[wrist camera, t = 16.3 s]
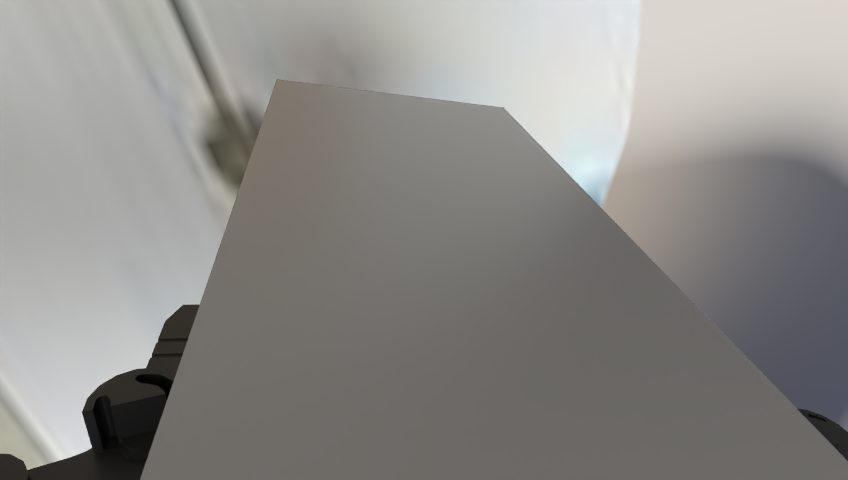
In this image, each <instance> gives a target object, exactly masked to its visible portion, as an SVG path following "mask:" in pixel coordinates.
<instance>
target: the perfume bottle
mask: <svg viewBox="0 0 848 480" xmlns="http://www.w3.org/2000/svg"><path fill="white" fill-rule="evenodd" d="M140 480H848V461H847V460H846V459H845V458H844V457H843V456H842V455H841V454H840V453H839V452H838V451H837V450H836V448H835V447H834V446H833V445H832V444H831V443H830V442H829V441H828V440H827V439H826V438H825V437H824V436H823V435H822V434H821V433H820V432H819V431H818V430H817V429H816V428H815V427H814V426H813V425H812V424H811V423H810V422H809V421H808V420H807V419H806V418H805V417H804V416H803V415H802V414H801V413H800V412H799V411H798V409H797V408H796V407H795V406H793V405H792V403H791V402H790V401H789V400H788V399H787V398H786V397H785V396H784V395H783V394H782V393H781V392H780V391H779V390H778V389H777V388H776V387H775V386H774V385H773V384H772V383H771V382H770V381H769V380H768V379H767V378H766V377H765V376H764V375H763V374H762V373H761V372H760V370H759V369H758V368H756V367H755V365H754V364H753V363H752V362H751V361H750V360H749V359H748V358H747V357H746V356H745V355H744V354H743V353H742V352H741V351H740V350H739V349H738V348H737V347H736V346H735V345H734V344H733V343H732V342H731V341H730V340H729V339H728V338H727V337H726V336H725V335H724V334H723V333H722V332H721V330H720V329H718V328H717V326H716V325H715V324H714V323H713V322H712V321H711V320H710V319H709V318H708V317H707V316H706V315H705V314H704V313H703V312H702V311H701V310H700V309H699V308H698V307H697V306H696V305H695V304H694V303H693V302H692V301H691V300H690V299H689V298H688V297H687V296H686V295H685V294H684V293H683V292H682V290H681V289H680V288H679V287H678V286H677V285H676V284H675V283H674V282H673V281H672V280H671V279H670V278H669V277H668V276H667V275H666V274H665V273H664V272H663V271H662V270H661V269H660V268H659V267H658V266H657V265H656V264H655V263H654V262H653V261H652V260H651V259H650V258H649V257H648V256H647V255H646V254H645V253H644V251H643V250H642V249H640V247H638V245H637V244H636V243H635V242H634V241H633V240H632V239H631V238H630V237H629V236H628V235H627V234H626V233H625V232H624V231H623V230H622V229H621V228H620V227H619V226H618V225H617V224H616V223H615V222H614V221H613V220H612V219H611V218H610V217H609V216H608V214H607V213H606V212H604V210H603V209H602V208H601V207H600V206H599V205H598V204H597V203H596V202H595V201H594V200H593V199H592V198H591V197H590V196H589V195H588V194H587V193H586V192H585V191H584V190H583V189H582V188H581V187H580V186H579V185H578V184H577V183H576V182H575V181H574V180H573V179H572V178H571V177H570V175H569V174H568V173H567V172H566V171H565V170H564V169H563V168H562V167H561V166H560V165H559V164H558V163H557V162H556V161H555V160H554V159H553V158H552V157H551V156H550V155H549V154H548V153H547V152H546V151H545V150H544V149H543V148H542V147H541V146H540V145H539V144H538V143H537V142H536V141H535V140H534V139H533V138H532V136H531V135H530V134H529V133H528V132H527V131H526V130H525V129H524V128H523V127H522V126H521V125H520V124H519V123H518V122H517V121H516V120H515V119H514V118H513V117H512V116H511V115H510V114H509V113H508V112H507V111H506V110H505V109H504V108H502V107H494V106H486V105H478V104H470V103H462V102H454V101H446V100H438V99H430V98H422V97H414V96H406V95H398V94H390V93H382V92H374V91H366V90H358V89H350V88H342V87H334V86H326V85H318V84H310V83H301V82H293V81H285V80H277V81H276V84H275V87H274V89H273V92H272V95H271V98H270V101H269V104H268V107H267V110H266V113H265V116H264V119H263V122H262V125H261V127H260V130H259V133H258V136H257V139H256V142H255V145H254V148H253V151H252V154H251V157H250V160H249V163H248V165H247V168H246V171H245V174H244V177H243V180H242V183H241V186H240V189H239V192H238V195H237V198H236V200H235V203H234V206H233V209H232V212H231V215H230V218H229V221H228V224H227V227H226V230H225V233H224V236H223V238H222V241H221V244H220V247H219V250H218V253H217V256H216V259H215V262H214V265H213V268H212V271H211V274H210V276H209V279H208V282H207V285H206V288H205V291H204V294H203V297H202V300H201V303H200V306H199V309H198V312H197V314H196V317H195V320H194V323H193V326H192V329H191V332H190V335H189V338H188V341H187V344H186V347H185V350H184V352H183V355H182V358H181V361H180V364H179V367H178V370H177V373H176V376H175V379H174V382H173V385H172V388H171V390H170V393H169V396H168V399H167V402H166V405H165V408H164V411H163V414H162V417H161V420H160V423H159V425H158V428H157V431H156V434H155V437H154V440H153V443H152V446H151V449H150V452H149V455H148V458H147V461H146V463H145V466H144V469H143V472H142V475H141V478H140Z"/></svg>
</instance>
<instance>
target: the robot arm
mask: <svg viewBox="0 0 848 480" xmlns="http://www.w3.org/2000/svg"><path fill="white" fill-rule="evenodd" d="M199 306H200V305H182V306H181V307H180V308H179V309H178V310H177V311H176V312H175V313H174V314H173V315H172V316H170V317H169V318H168V319H167V320H166V322H165V324H164V326H163V329H162V331H161V334H160V336H159V338H158V343H156V346H155V348H154V350H153V353H152V358H150V360H149V363H148V365H147V367H146V368H145V369H135V370H132V371H129V372H126V373H123V374H120V375H117V376H115V377H113V378H112V379H110V380H108V381H107V382H105V383H103V384H102V385H100V386H99V387H98V388H97V389H96V390H95V391H94V392H93V393H92V394H91V395H90V396H89V397H88V398H87V401H86V404H85V406H84V409H83V411H82V414H83V417H84V421H85V424H86V428H87V431H88V434H89V438H90V441H91V445H92V448H91V449H90V450H88V451H86V452H84V453H81V454H78V455H76V456H73V457H70V458H67V459H64V460H60V461H57V462H54V463H50V464H47V465H43V466H40V467H37V468H33V469H30V470H27V469H26V466H25V464H24V462H23V461H22V460H20V459H18V458H16V457H14V456H13V455H11V454H0V480H140V478H141V475H142V472H143V469H144V466H145V463H146V461H147V458H148V455H149V452H150V449H151V446H152V443H153V440H154V437H155V434H156V431H157V428H158V425H159V423H160V420H161V417H162V414H163V411H164V408H165V405H166V402H167V399H168V396H169V393H170V390H171V388H172V385H173V382H174V379H175V376H176V373H177V370H178V367H179V364H180V361H181V358H182V355H183V352H184V350H185V347H186V344H187V341H188V338H189V335H190V332H191V329H192V326H193V323H194V320H195V317H196V314H197V312H198V309H199ZM798 411H799V412H800V413H801V414H802V415H803V416H804V417H805V418H806V419H807V420H808V421H809V422H810V423H811V424H812V425H813V426H814V427H815V428H816V429H817V430H818V431H819V432H820V433H821V434H822V435H823V436H824V437H825V438H826V439H827V440H828V441H829V442H830V443H831V444H832V445H833V446H834V447H835V448H836V450H837V451H838V452H839V453H840V454H841V455H842V456H843V457H844V458H845V459H846V460H847V461H848V432H847V431H846V430H844V429H843V428H842V427H841V426H840V425H838V424H836V423H835V422H833V421H831V420H829V419H828V418H826V417H824V416H822V415H819V414H817V413H814V412H811V411H808V410H803V409H798Z"/></svg>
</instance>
